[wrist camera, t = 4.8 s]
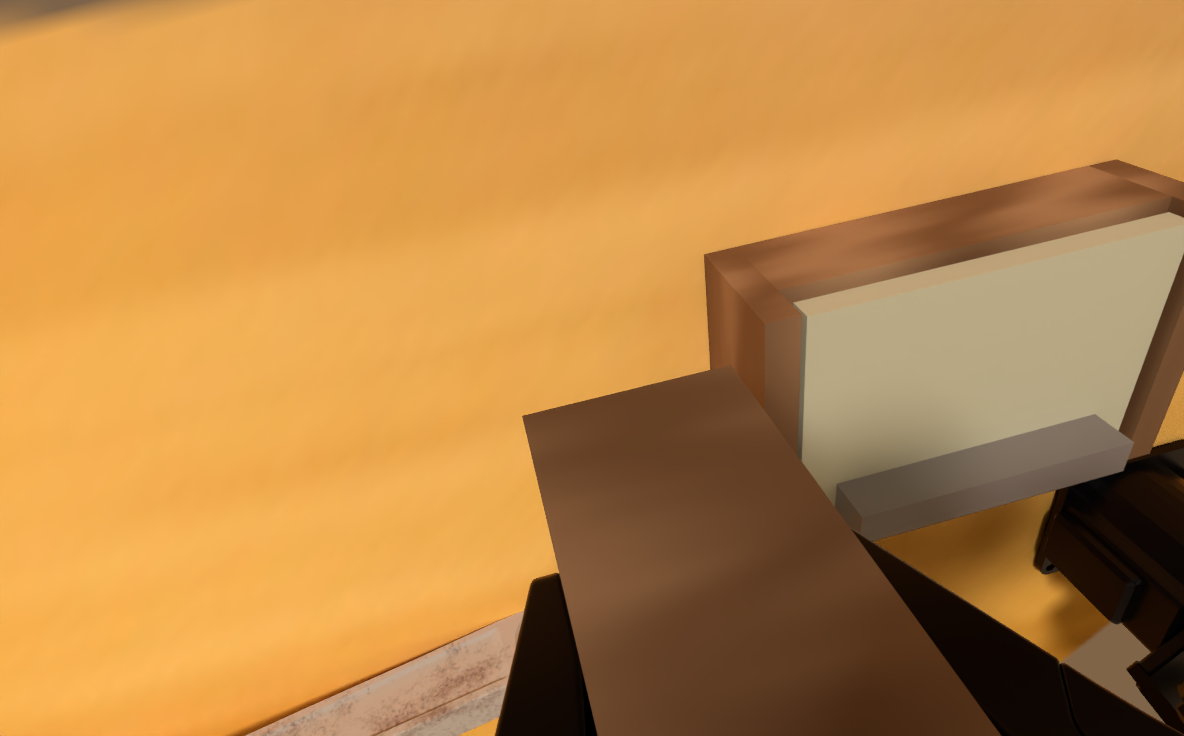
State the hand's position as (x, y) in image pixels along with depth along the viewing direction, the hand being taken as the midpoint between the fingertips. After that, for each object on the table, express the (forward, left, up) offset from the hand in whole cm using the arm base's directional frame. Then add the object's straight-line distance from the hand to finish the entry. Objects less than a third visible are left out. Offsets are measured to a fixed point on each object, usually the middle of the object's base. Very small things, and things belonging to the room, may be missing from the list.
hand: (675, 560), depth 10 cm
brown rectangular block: (0, 0, -2) cm, 2 cm away
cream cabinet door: (-12, +6, -9) cm, 16 cm away
